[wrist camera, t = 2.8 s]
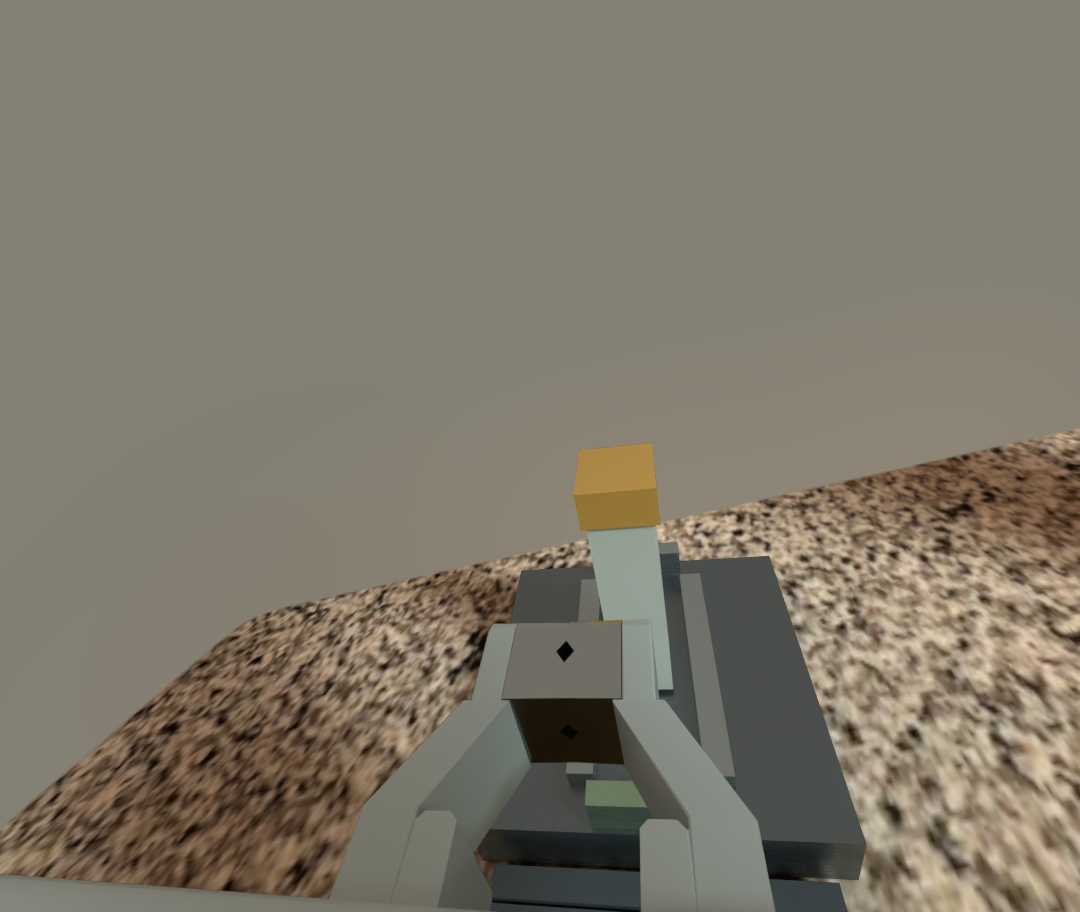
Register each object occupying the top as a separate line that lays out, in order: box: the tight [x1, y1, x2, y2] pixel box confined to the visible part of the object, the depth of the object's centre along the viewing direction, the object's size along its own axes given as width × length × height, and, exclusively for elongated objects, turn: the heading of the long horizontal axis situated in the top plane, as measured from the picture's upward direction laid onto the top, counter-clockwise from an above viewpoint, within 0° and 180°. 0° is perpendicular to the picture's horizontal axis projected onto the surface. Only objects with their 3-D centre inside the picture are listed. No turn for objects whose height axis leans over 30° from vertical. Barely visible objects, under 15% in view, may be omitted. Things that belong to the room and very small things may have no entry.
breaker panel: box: [477, 542, 866, 880], centre depth 29 cm, size 16×16×5 cm
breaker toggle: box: [574, 443, 673, 689], centre depth 26 cm, size 3×3×12 cm
